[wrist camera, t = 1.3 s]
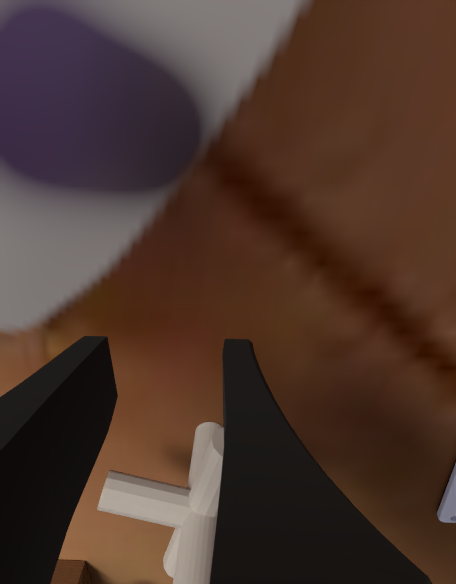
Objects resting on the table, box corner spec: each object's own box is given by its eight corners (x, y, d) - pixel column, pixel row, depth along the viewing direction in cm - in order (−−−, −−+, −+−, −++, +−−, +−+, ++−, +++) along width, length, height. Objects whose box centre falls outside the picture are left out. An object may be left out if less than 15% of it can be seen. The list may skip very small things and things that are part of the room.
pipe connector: (260, 500, 28) (266, 697, 19) (117, 466, 27) (52, 657, 18) (318, 394, 23) (360, 590, 14) (146, 348, 22) (80, 528, 13)
